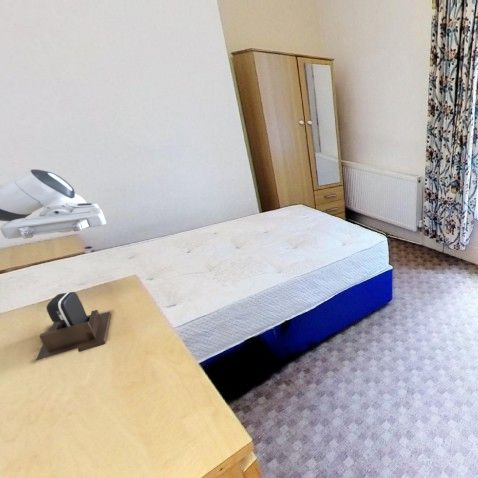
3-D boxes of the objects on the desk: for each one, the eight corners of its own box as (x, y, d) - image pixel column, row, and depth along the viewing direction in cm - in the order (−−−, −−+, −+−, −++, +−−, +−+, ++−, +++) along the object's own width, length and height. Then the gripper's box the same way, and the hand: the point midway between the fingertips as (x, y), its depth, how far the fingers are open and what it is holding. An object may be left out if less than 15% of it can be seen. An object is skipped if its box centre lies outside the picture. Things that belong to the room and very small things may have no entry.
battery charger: (73, 326, 87) (55, 291, 83) (92, 323, 89) (75, 288, 84) (60, 343, 82) (40, 306, 77) (80, 339, 83) (62, 302, 79)
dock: (38, 363, 77) (26, 343, 74) (52, 330, 88) (42, 311, 85) (105, 343, 84) (96, 324, 81) (111, 314, 95) (103, 297, 92)
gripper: (4, 213, 90) (-14, 228, 80) (103, 202, 102) (98, 214, 92) (15, 234, 93) (-1, 251, 83) (110, 220, 104) (106, 234, 94)
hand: (52, 231), depth 87 cm, fingers open, 8 cm apart
